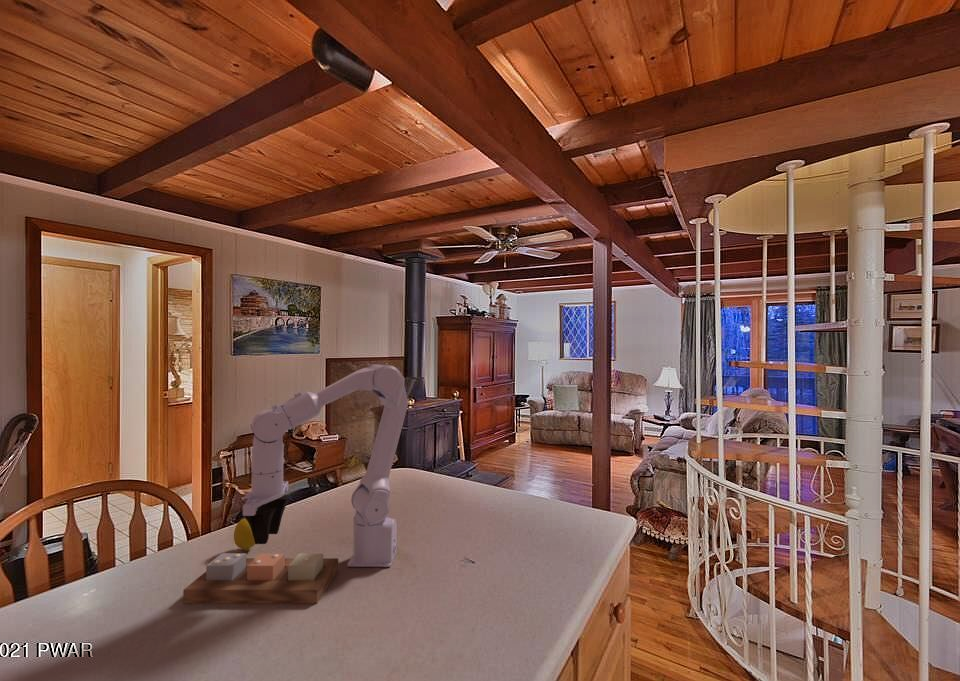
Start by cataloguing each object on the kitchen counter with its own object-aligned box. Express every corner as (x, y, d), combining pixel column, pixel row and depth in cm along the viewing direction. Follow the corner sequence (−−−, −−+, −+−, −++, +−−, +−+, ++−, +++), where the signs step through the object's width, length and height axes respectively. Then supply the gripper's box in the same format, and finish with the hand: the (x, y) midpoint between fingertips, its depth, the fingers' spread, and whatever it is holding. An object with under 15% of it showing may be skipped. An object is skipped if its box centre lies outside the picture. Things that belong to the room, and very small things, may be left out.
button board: (338, 570, 91) (338, 558, 92) (317, 603, 79) (317, 589, 80) (222, 569, 91) (222, 558, 91) (183, 603, 79) (183, 589, 79)
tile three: (245, 569, 88) (246, 552, 88) (231, 583, 83) (232, 564, 83) (221, 569, 88) (221, 552, 88) (206, 583, 83) (206, 564, 83)
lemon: (248, 557, 97) (249, 521, 97) (227, 554, 98) (228, 519, 98) (265, 546, 103) (266, 512, 103) (245, 543, 104) (246, 510, 104)
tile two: (284, 570, 88) (284, 552, 88) (272, 583, 83) (273, 564, 83) (260, 570, 88) (260, 552, 88) (247, 583, 83) (247, 564, 83)
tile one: (323, 570, 88) (323, 552, 88) (313, 583, 83) (313, 564, 83) (298, 570, 88) (299, 552, 88) (288, 583, 83) (288, 564, 83)
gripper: (265, 461, 93) (265, 523, 93) (226, 481, 79) (225, 555, 78) (298, 461, 93) (297, 523, 93) (264, 481, 79) (263, 555, 78)
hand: (266, 538), depth 86 cm, fingers open, 4 cm apart
